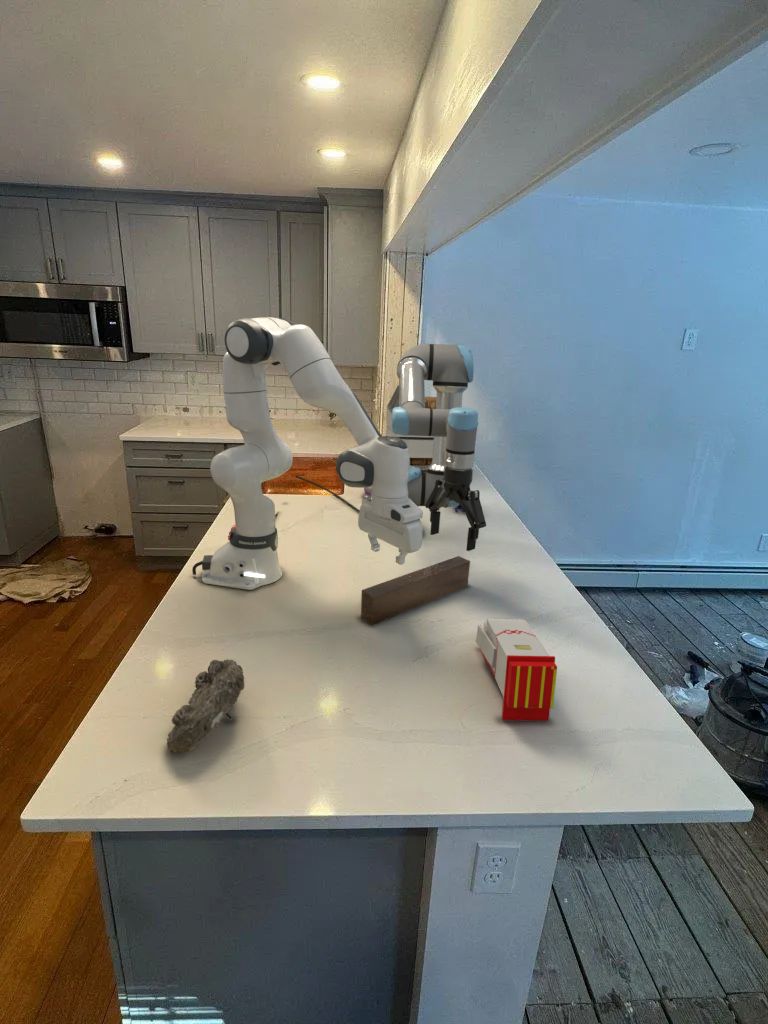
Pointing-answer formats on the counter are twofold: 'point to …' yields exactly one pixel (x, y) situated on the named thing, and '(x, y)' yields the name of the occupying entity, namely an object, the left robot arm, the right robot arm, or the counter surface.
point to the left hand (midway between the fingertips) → (387, 556)
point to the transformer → (417, 445)
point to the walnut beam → (413, 589)
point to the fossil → (206, 705)
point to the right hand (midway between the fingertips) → (452, 541)
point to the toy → (519, 668)
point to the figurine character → (459, 507)
